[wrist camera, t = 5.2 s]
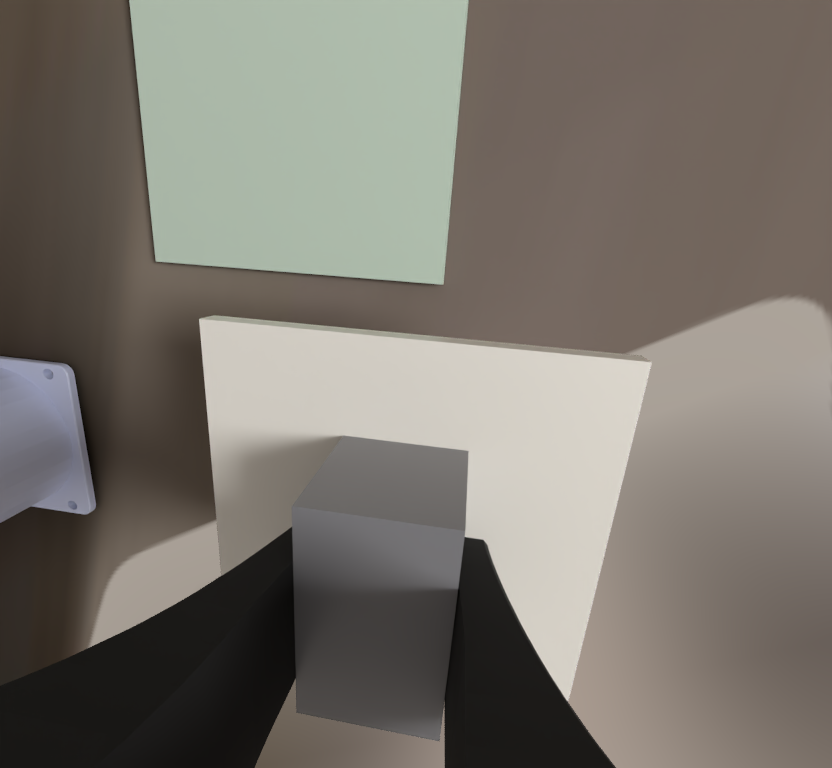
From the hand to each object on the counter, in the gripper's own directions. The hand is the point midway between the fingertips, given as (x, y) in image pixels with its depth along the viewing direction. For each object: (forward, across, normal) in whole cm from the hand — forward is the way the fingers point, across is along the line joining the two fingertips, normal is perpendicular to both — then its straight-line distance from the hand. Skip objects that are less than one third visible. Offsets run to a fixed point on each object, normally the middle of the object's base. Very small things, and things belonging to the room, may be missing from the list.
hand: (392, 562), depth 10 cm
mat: (+9, +6, -12) cm, 16 cm away
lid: (+2, 0, 0) cm, 2 cm away
